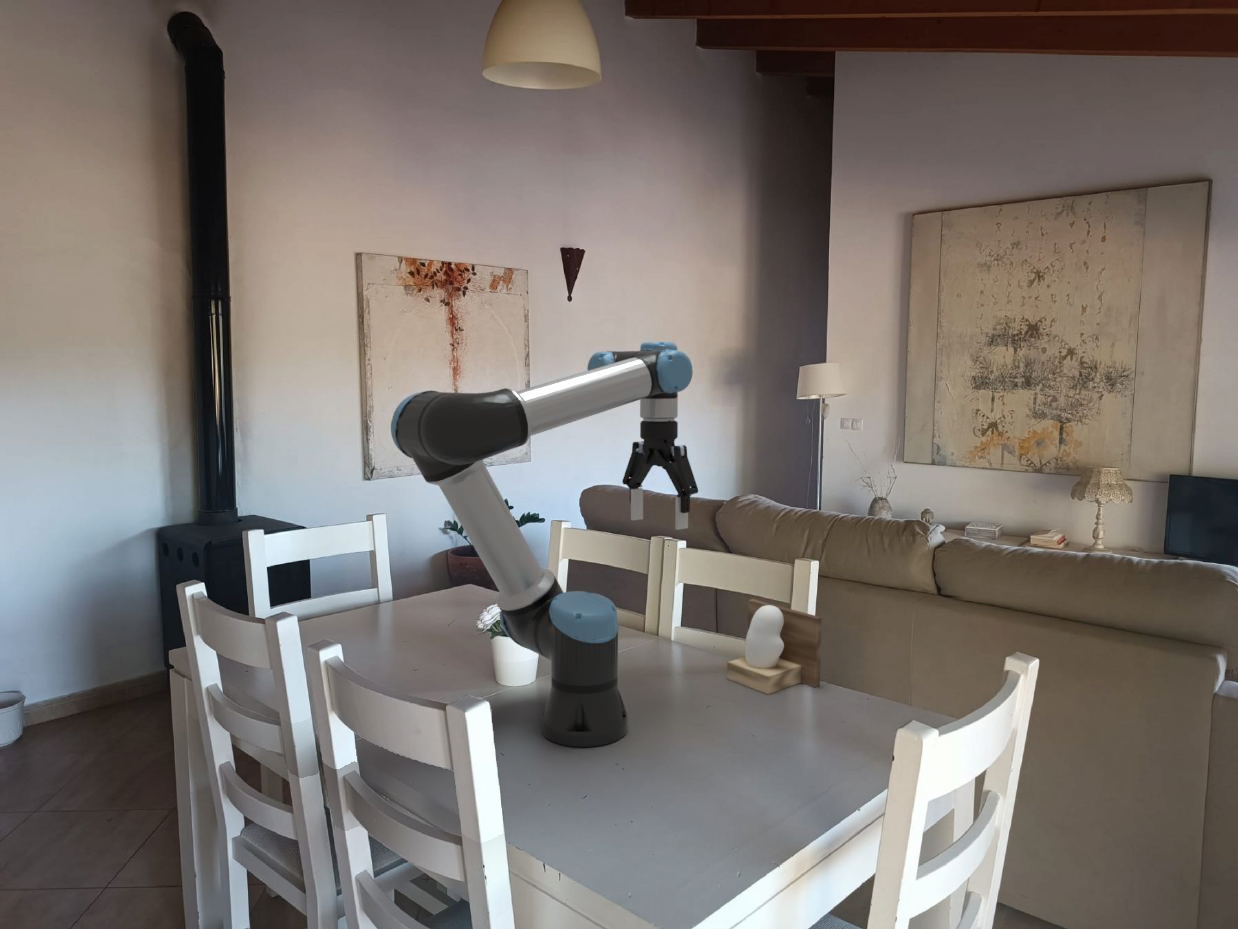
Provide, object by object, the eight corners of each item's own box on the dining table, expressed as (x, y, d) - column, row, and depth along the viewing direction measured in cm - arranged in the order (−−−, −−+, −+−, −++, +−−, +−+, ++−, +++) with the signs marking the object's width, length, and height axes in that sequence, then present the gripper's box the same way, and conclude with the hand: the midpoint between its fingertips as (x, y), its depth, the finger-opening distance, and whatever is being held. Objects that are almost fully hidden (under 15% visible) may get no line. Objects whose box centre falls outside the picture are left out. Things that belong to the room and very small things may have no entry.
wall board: (782, 699, 165) (783, 628, 163) (714, 674, 179) (715, 608, 177) (819, 685, 172) (821, 617, 170) (752, 662, 186) (753, 598, 184)
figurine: (785, 669, 171) (786, 610, 170) (747, 669, 171) (748, 610, 170) (779, 657, 178) (780, 601, 177) (742, 657, 178) (743, 601, 177)
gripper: (716, 421, 165) (715, 530, 167) (633, 416, 184) (633, 514, 187) (688, 423, 160) (687, 535, 163) (605, 417, 180) (606, 518, 182)
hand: (658, 524), depth 175 cm, fingers open, 13 cm apart
